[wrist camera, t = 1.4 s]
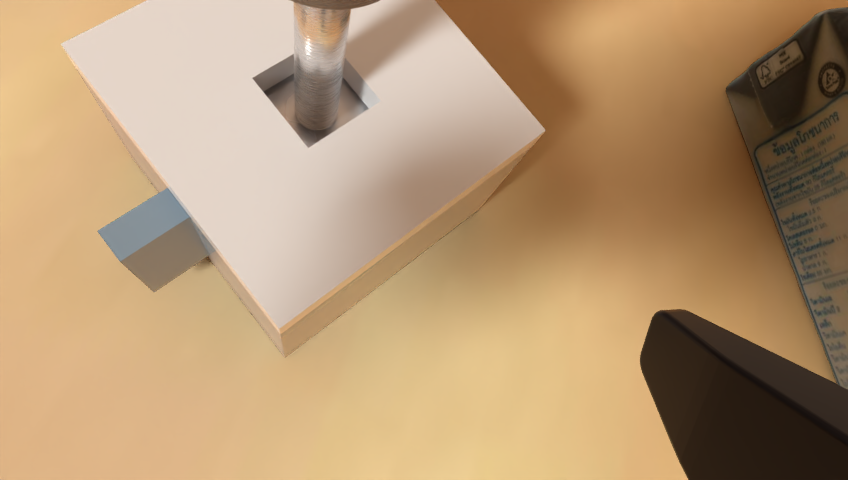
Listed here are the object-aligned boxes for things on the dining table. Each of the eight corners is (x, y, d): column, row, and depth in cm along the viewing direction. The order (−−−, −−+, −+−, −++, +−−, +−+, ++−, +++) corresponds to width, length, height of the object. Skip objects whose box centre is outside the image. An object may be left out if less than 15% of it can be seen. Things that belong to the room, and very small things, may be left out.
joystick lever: (481, 145, 19) (657, -119, 10) (289, 284, 17) (278, 113, 7) (338, -25, 20) (374, -424, 10) (135, 86, 17) (-48, -294, 8)
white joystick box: (478, 209, 24) (545, 130, 18) (234, 396, 21) (205, 383, 14) (335, 36, 25) (348, -102, 19) (78, 187, 22) (-19, 83, 15)
